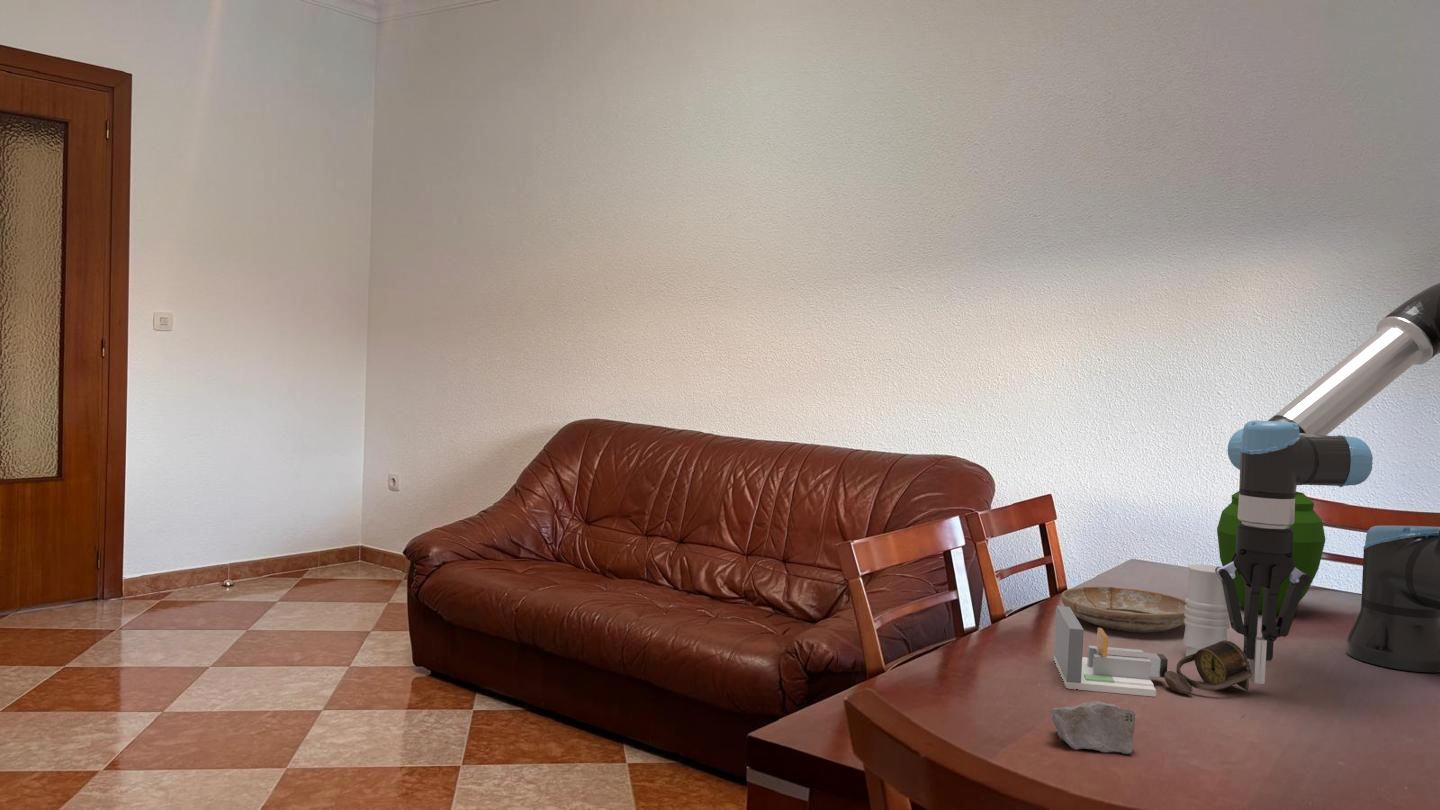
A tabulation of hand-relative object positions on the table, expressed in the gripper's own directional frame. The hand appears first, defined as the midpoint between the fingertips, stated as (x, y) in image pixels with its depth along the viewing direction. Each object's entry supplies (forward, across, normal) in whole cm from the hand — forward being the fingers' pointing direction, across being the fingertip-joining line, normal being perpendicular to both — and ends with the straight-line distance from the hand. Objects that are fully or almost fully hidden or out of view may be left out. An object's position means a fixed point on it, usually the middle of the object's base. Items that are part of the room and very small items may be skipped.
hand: (1256, 680), depth 157 cm
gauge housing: (+2, +22, 0) cm, 22 cm away
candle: (+2, +3, -18) cm, 18 cm away
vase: (+2, -20, -60) cm, 63 cm away
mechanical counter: (+2, +8, +1) cm, 8 cm away
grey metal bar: (0, +18, +1) cm, 18 cm away
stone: (+2, +28, +30) cm, 42 cm away
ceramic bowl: (+2, +12, -38) cm, 40 cm away
